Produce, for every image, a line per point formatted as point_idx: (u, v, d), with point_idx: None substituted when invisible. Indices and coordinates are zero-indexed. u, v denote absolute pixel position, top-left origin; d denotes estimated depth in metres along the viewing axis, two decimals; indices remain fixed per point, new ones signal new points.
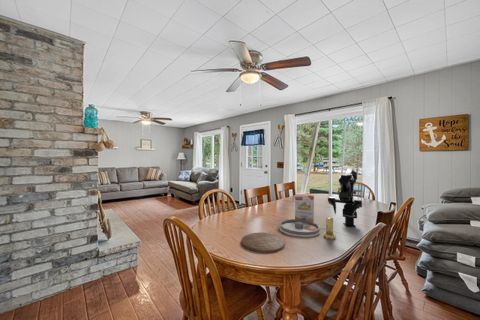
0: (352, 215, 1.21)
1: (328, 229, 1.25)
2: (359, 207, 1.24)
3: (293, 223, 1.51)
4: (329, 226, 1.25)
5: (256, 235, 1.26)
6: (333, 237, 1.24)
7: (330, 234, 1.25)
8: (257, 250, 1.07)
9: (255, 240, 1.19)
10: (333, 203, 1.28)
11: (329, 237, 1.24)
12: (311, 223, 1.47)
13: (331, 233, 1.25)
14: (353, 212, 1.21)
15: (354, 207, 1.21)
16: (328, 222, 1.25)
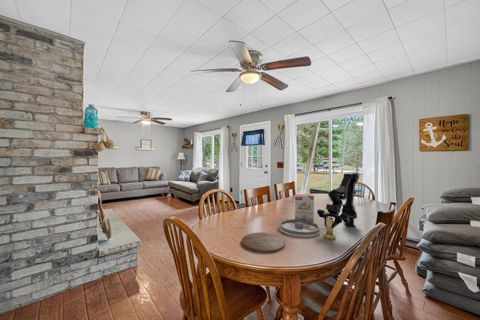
0: (332, 227, 1.24)
1: (328, 229, 1.25)
2: None
3: (293, 223, 1.51)
4: (329, 226, 1.25)
5: (256, 235, 1.26)
6: (333, 237, 1.24)
7: (330, 234, 1.25)
8: (257, 250, 1.07)
9: (255, 240, 1.19)
10: (325, 216, 1.30)
11: (329, 237, 1.24)
12: (311, 223, 1.47)
13: (331, 233, 1.25)
14: (334, 224, 1.24)
15: (335, 220, 1.25)
16: (328, 222, 1.25)
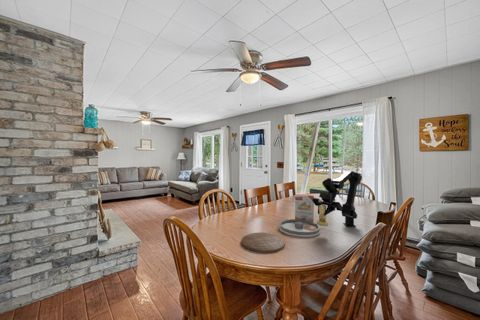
0: (324, 214, 1.27)
1: (321, 216, 1.29)
2: None
3: (293, 223, 1.51)
4: (321, 213, 1.29)
5: (256, 235, 1.26)
6: (325, 224, 1.27)
7: (322, 221, 1.28)
8: (257, 250, 1.07)
9: (255, 240, 1.19)
10: (319, 204, 1.34)
11: (321, 224, 1.28)
12: (311, 223, 1.47)
13: (323, 220, 1.28)
14: (326, 212, 1.28)
15: (328, 207, 1.28)
16: (320, 209, 1.29)
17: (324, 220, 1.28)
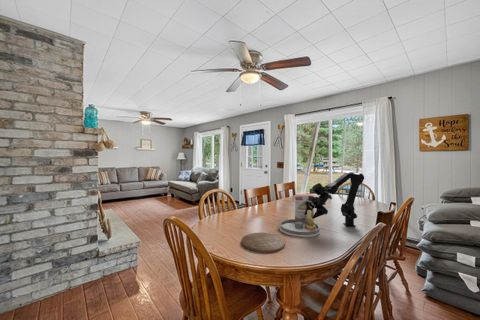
0: (312, 217, 1.35)
1: (308, 220, 1.39)
2: (324, 214, 1.34)
3: (293, 223, 1.51)
4: (308, 217, 1.39)
5: (256, 235, 1.26)
6: (311, 227, 1.37)
7: (309, 225, 1.39)
8: (257, 250, 1.07)
9: (255, 240, 1.19)
10: (306, 206, 1.46)
11: (307, 227, 1.38)
12: None
13: (310, 224, 1.38)
14: (314, 215, 1.35)
15: (316, 211, 1.35)
16: (308, 214, 1.39)
17: (311, 224, 1.38)
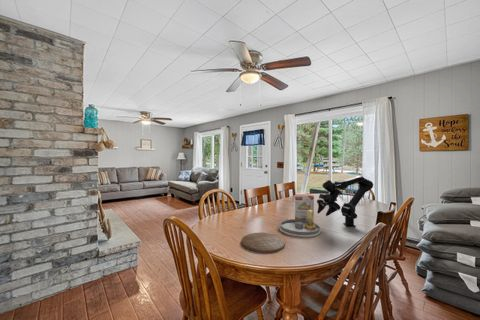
0: (326, 214, 1.36)
1: (308, 220, 1.39)
2: (337, 209, 1.35)
3: (293, 223, 1.51)
4: (308, 217, 1.39)
5: (256, 235, 1.26)
6: (311, 227, 1.37)
7: (309, 225, 1.39)
8: (257, 250, 1.07)
9: (255, 240, 1.19)
10: (318, 204, 1.48)
11: (307, 227, 1.38)
12: None
13: (310, 224, 1.38)
14: (327, 212, 1.36)
15: (329, 208, 1.37)
16: (308, 214, 1.39)
17: (311, 224, 1.38)
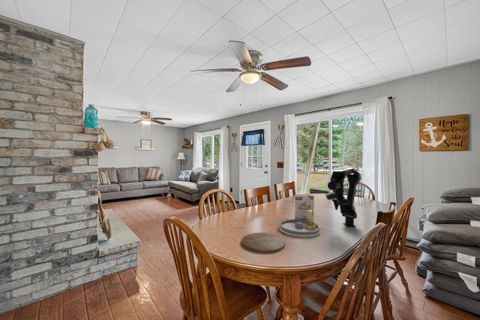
0: None
1: (308, 220, 1.39)
2: (347, 204, 1.30)
3: (293, 223, 1.51)
4: (308, 217, 1.39)
5: (256, 235, 1.26)
6: (311, 227, 1.37)
7: (309, 225, 1.39)
8: (257, 250, 1.07)
9: (255, 240, 1.19)
10: None
11: (307, 227, 1.38)
12: None
13: (310, 224, 1.38)
14: (340, 210, 1.33)
15: None
16: (308, 214, 1.39)
17: (311, 224, 1.38)
